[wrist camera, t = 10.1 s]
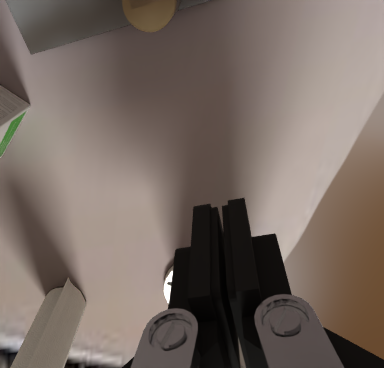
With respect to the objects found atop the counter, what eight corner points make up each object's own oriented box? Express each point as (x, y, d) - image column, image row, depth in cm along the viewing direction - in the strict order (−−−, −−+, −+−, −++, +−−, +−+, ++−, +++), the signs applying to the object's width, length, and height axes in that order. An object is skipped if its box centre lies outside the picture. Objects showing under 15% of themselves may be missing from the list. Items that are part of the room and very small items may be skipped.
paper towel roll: (69, 319, 57) (3, 484, 39) (38, 298, 55) (-47, 462, 37) (100, 299, 55) (45, 466, 36) (68, 276, 53) (-7, 441, 34)
